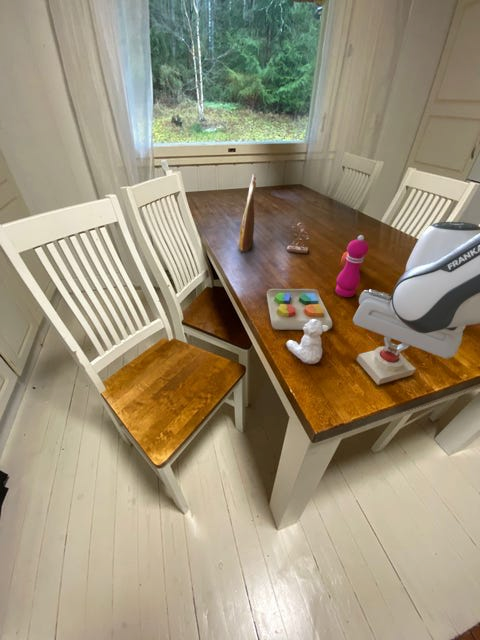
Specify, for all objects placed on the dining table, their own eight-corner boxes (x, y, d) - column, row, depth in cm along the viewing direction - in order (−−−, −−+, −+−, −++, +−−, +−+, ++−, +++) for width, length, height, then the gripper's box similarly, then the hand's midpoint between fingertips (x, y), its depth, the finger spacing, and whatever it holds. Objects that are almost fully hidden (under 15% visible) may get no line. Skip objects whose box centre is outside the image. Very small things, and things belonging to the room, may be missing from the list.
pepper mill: (329, 289, 94) (343, 232, 82) (345, 284, 97) (362, 229, 84) (343, 300, 89) (361, 241, 77) (360, 295, 92) (380, 237, 79)
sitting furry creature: (318, 341, 74) (328, 305, 66) (331, 365, 67) (344, 328, 60) (285, 345, 73) (290, 308, 65) (295, 369, 66) (302, 332, 58)
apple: (361, 274, 103) (368, 254, 98) (339, 272, 104) (345, 252, 99) (359, 264, 109) (365, 245, 104) (338, 262, 110) (343, 244, 105)
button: (389, 350, 66) (392, 345, 65) (400, 361, 64) (403, 355, 63) (377, 353, 65) (379, 348, 64) (387, 364, 63) (390, 359, 62)
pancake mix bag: (257, 237, 130) (260, 171, 113) (251, 254, 115) (255, 182, 98) (243, 236, 131) (244, 170, 113) (236, 253, 116) (236, 181, 99)
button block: (388, 351, 71) (394, 340, 68) (412, 374, 65) (419, 363, 63) (356, 360, 69) (360, 349, 66) (377, 384, 63) (383, 373, 60)
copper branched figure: (307, 249, 120) (312, 222, 112) (307, 253, 117) (312, 225, 109) (287, 247, 121) (290, 220, 114) (286, 251, 118) (290, 223, 111)
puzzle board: (317, 294, 92) (319, 285, 90) (332, 330, 77) (335, 321, 75) (266, 293, 92) (266, 284, 90) (271, 330, 77) (272, 320, 75)
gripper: (358, 293, 57) (342, 341, 66) (475, 330, 48) (438, 380, 57) (367, 280, 61) (350, 327, 70) (476, 313, 52) (441, 362, 61)
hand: (390, 351), depth 63 cm, fingers closed
